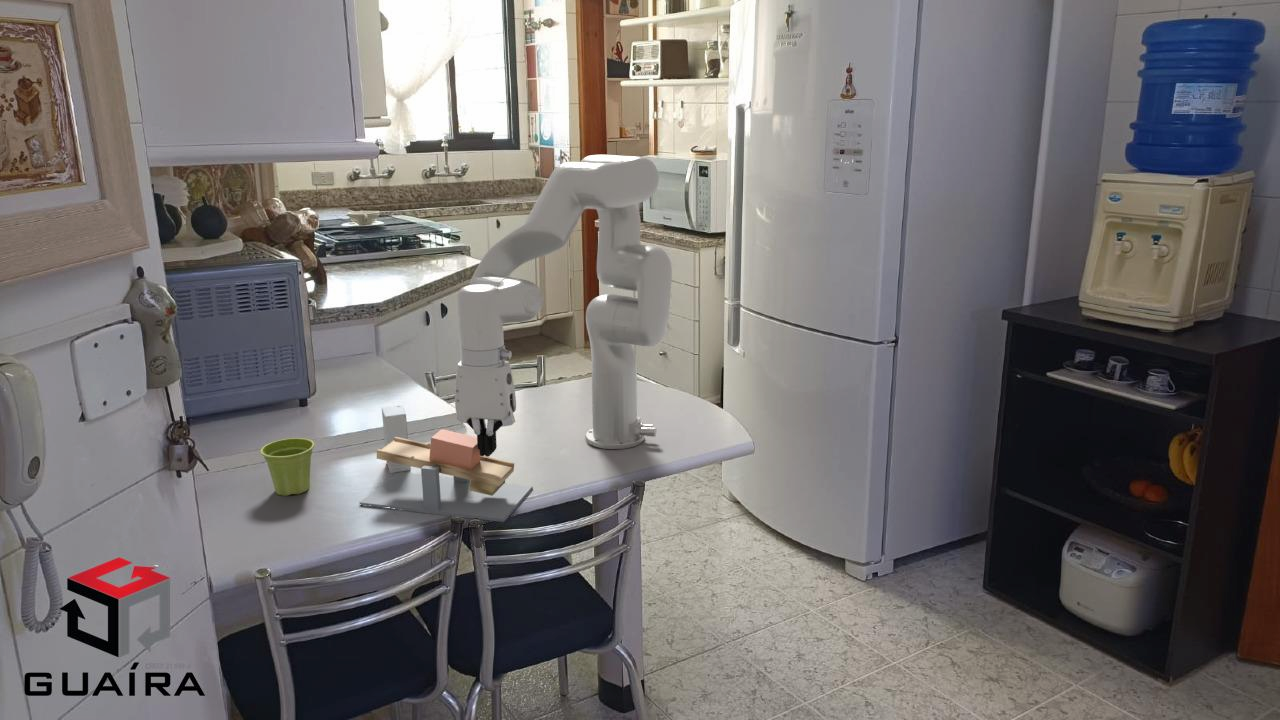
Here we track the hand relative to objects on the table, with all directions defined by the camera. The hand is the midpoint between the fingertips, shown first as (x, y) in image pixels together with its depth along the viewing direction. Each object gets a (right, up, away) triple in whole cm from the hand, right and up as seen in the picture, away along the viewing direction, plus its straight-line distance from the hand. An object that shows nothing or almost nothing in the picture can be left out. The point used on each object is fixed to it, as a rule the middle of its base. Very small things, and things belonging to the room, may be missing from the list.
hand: (487, 453), depth 169 cm
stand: (-8, -9, +5) cm, 13 cm away
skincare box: (-21, -5, +19) cm, 29 cm away
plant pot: (-38, -8, +8) cm, 40 cm away
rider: (-6, -2, +2) cm, 7 cm away
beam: (-8, -5, +4) cm, 10 cm away
